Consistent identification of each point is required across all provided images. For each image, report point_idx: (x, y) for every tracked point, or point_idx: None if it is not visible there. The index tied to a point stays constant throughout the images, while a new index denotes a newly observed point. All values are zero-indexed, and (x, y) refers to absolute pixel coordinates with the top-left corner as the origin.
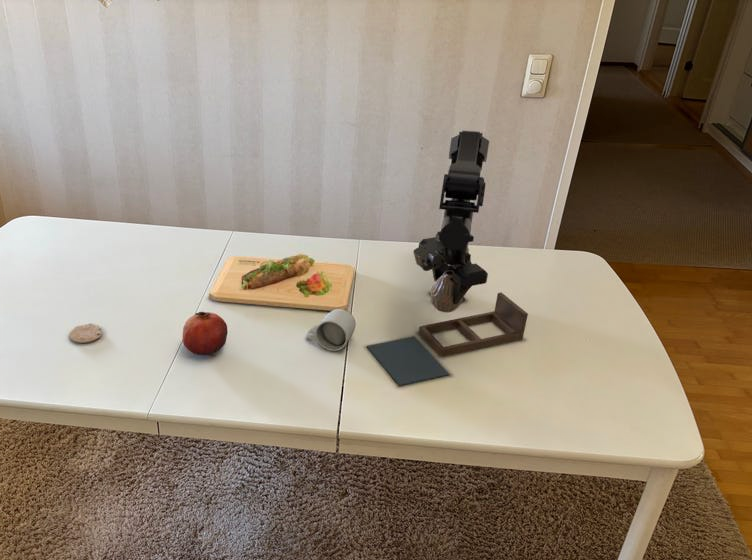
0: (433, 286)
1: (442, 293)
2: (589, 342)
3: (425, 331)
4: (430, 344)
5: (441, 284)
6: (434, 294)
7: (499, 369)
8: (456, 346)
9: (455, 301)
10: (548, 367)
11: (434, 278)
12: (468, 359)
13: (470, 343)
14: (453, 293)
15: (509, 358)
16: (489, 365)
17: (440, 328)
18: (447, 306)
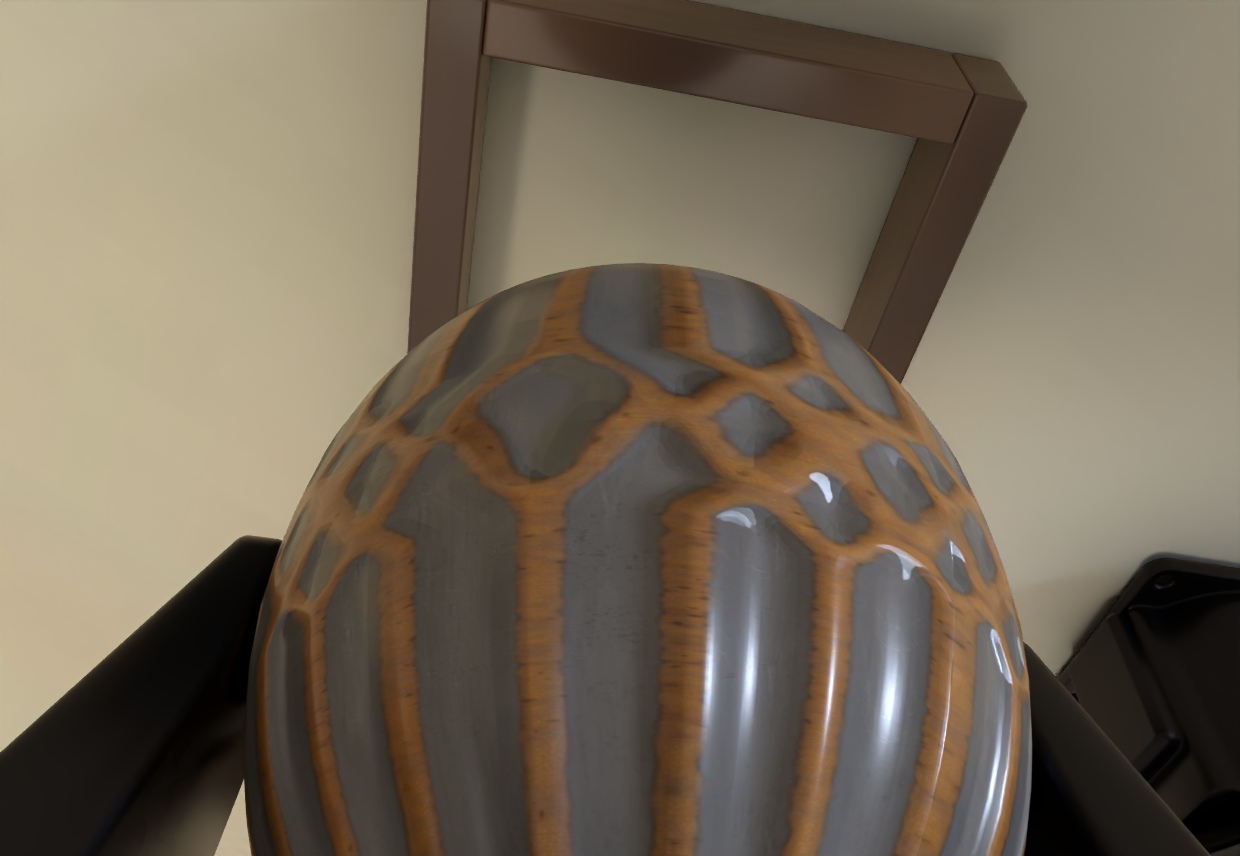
0: (886, 637)
1: (409, 592)
2: (231, 846)
3: (884, 86)
4: (713, 10)
5: (562, 852)
6: (679, 440)
7: (59, 306)
8: (420, 182)
9: (182, 604)
10: (18, 579)
11: (1171, 850)
12: (299, 184)
13: (414, 336)
14: (104, 770)
15: (202, 464)
16: (143, 277)
17: (867, 300)
18: (354, 413)
